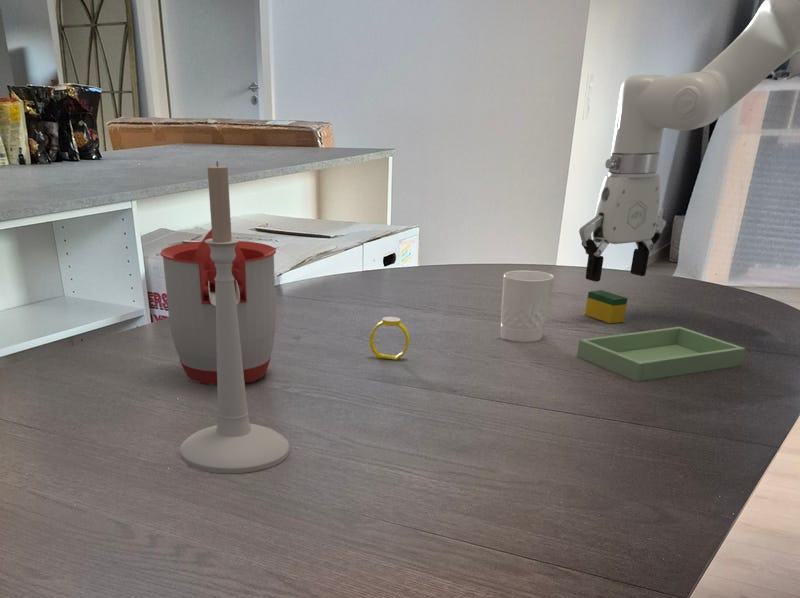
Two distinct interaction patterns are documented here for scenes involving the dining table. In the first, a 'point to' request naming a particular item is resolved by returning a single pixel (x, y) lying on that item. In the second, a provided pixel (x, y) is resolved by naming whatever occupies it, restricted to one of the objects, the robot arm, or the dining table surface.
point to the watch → (390, 322)
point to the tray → (660, 353)
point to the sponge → (606, 306)
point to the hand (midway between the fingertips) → (615, 277)
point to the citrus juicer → (197, 306)
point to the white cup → (525, 304)
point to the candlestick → (229, 365)
